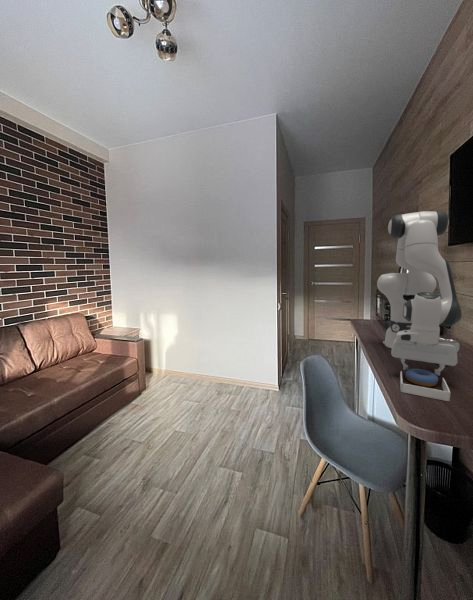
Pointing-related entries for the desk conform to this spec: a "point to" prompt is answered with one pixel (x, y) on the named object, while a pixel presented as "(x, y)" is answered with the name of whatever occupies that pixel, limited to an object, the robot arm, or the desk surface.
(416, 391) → the box
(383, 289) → the robot arm
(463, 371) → the desk surface
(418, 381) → the doughnut
